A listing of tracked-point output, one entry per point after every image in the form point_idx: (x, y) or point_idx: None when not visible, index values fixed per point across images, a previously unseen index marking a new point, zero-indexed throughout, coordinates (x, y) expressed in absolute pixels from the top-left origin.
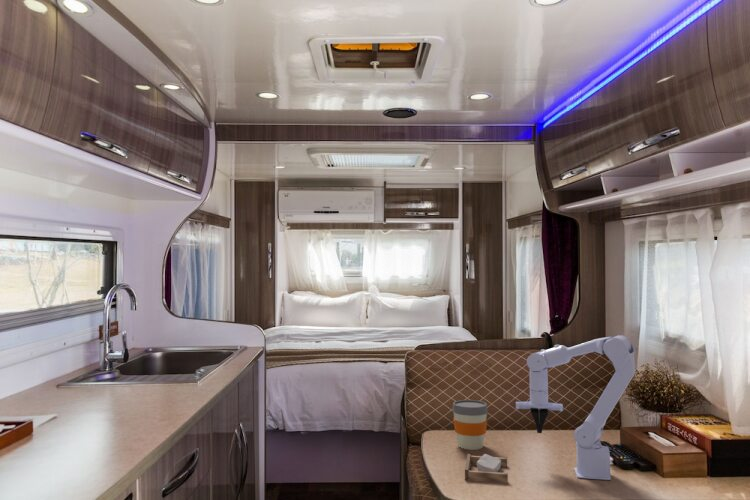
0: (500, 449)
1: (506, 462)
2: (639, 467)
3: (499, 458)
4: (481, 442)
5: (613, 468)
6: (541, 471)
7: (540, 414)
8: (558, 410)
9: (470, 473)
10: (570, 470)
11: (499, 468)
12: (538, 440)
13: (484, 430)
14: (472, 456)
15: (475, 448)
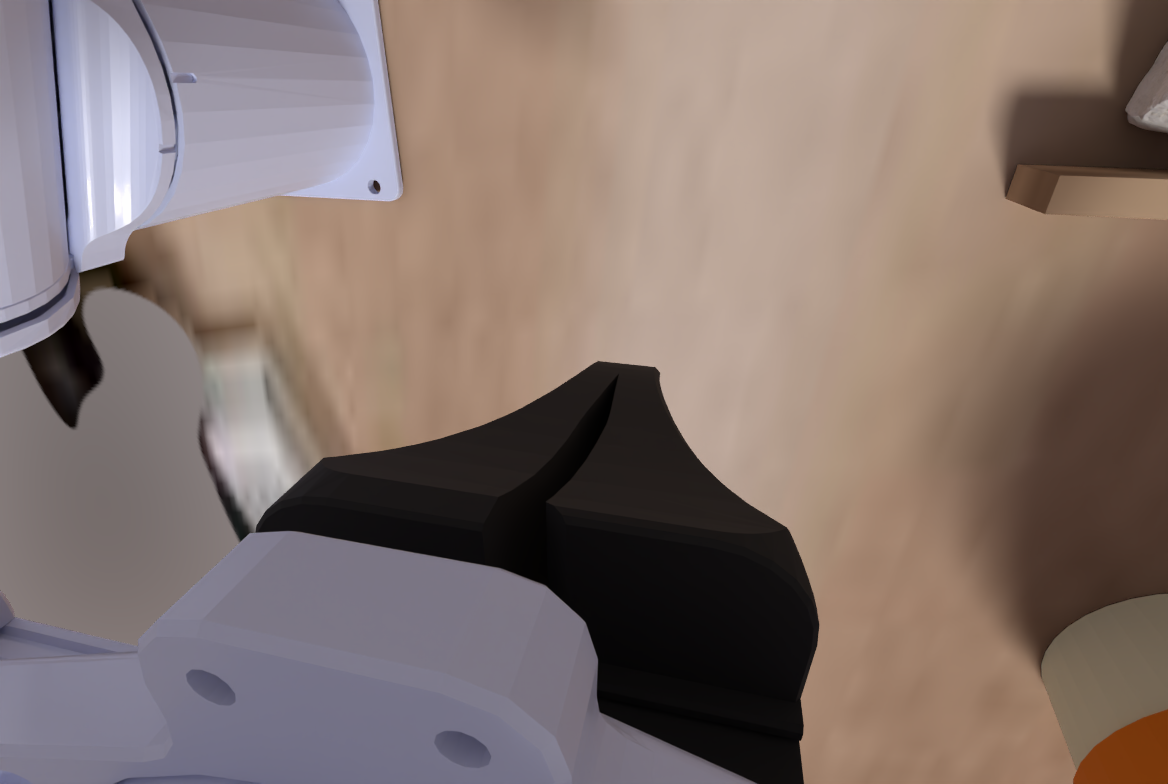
0: (915, 591)
1: (1045, 171)
2: None
3: (1161, 179)
4: (1113, 654)
5: (171, 266)
6: (680, 89)
7: (510, 490)
8: (27, 620)
9: None
10: (433, 170)
11: (1153, 68)
12: None
13: (1151, 758)
14: None
15: (1164, 600)
